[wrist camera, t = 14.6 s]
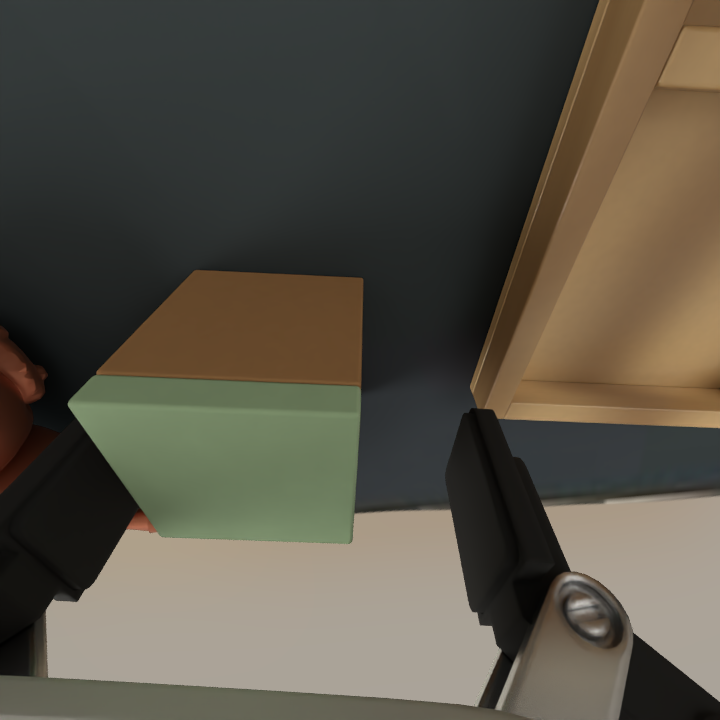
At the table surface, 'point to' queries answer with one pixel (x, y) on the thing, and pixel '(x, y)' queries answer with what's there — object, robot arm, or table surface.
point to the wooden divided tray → (621, 236)
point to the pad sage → (238, 408)
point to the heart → (27, 418)
